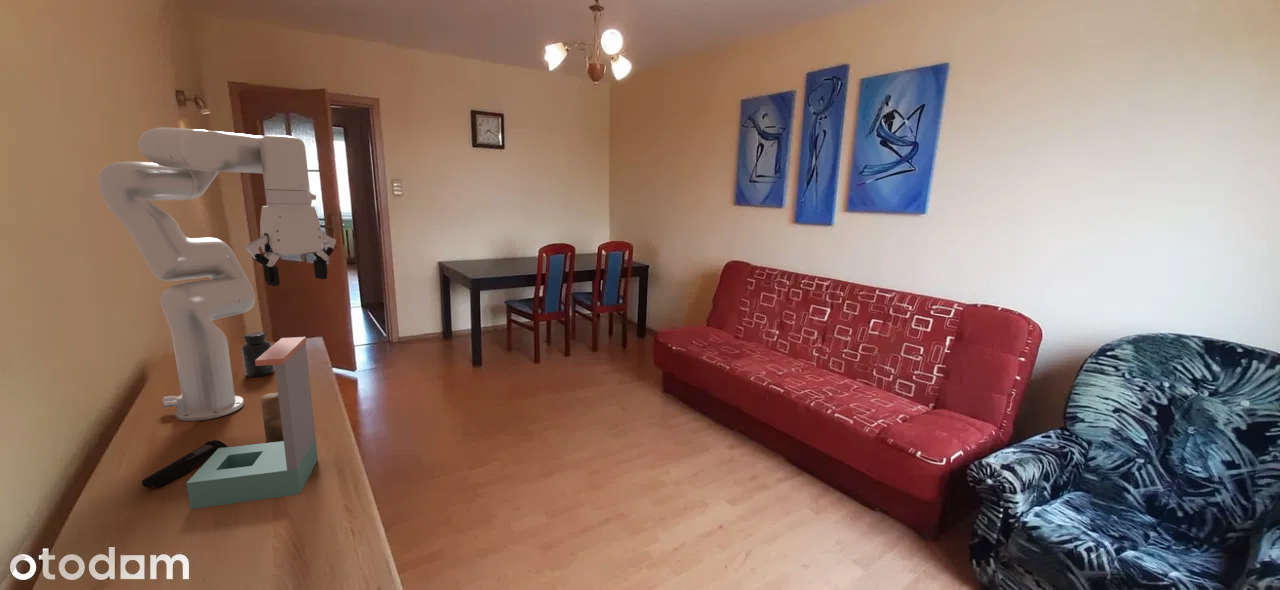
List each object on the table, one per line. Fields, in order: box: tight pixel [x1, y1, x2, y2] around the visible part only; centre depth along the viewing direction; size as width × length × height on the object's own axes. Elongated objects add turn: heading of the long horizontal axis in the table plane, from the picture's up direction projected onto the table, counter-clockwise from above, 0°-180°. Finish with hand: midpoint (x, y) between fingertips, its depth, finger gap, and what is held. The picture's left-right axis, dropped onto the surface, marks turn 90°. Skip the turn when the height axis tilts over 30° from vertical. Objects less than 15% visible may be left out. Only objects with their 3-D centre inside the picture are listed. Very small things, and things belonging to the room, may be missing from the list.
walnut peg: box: [260, 392, 284, 443], centre depth 108 cm, size 4×4×10 cm
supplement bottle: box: [241, 331, 275, 378], centre depth 144 cm, size 7×7×12 cm
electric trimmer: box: [141, 439, 228, 489], centre depth 96 cm, size 4×16×3 cm, turn 177°
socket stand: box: [185, 336, 319, 510], centre depth 91 cm, size 16×13×26 cm
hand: (298, 281), depth 105 cm, fingers open, 9 cm apart
